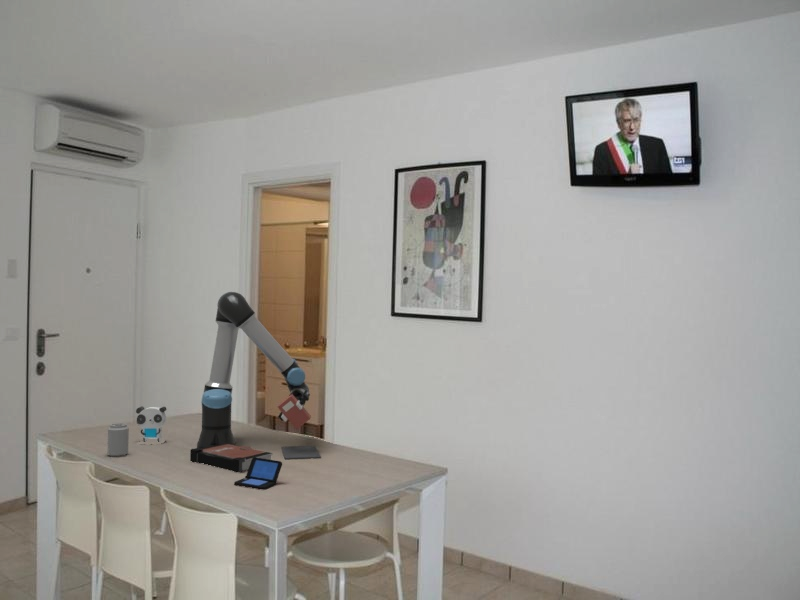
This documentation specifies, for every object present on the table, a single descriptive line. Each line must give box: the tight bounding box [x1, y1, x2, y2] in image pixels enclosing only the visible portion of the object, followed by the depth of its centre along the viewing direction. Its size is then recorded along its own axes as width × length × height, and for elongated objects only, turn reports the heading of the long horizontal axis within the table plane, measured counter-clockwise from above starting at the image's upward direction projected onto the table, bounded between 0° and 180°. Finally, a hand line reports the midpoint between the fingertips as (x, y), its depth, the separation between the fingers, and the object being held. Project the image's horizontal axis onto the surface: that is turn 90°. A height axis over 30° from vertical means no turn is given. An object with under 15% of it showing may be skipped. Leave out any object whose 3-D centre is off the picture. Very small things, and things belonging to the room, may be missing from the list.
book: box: [189, 444, 274, 473], centre depth 255 cm, size 26×18×5 cm
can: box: [107, 422, 130, 457], centre depth 263 cm, size 8×8×12 cm
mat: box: [280, 445, 322, 460], centre depth 272 cm, size 20×14×1 cm
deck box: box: [277, 394, 312, 430], centre depth 273 cm, size 4×7×12 cm
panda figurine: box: [135, 406, 167, 442], centre depth 286 cm, size 12×11×15 cm
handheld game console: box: [233, 457, 283, 490], centre depth 227 cm, size 12×11×7 cm
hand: (291, 412), depth 268 cm, fingers closed on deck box, 7 cm apart
